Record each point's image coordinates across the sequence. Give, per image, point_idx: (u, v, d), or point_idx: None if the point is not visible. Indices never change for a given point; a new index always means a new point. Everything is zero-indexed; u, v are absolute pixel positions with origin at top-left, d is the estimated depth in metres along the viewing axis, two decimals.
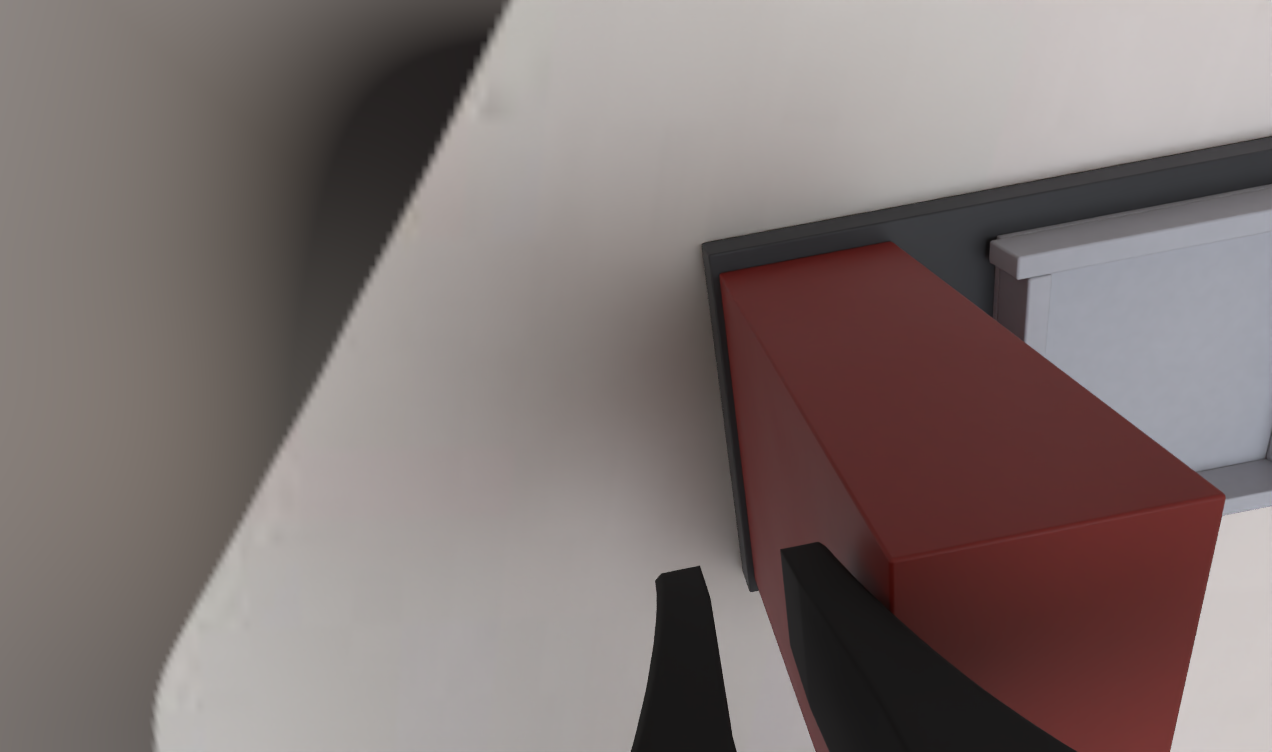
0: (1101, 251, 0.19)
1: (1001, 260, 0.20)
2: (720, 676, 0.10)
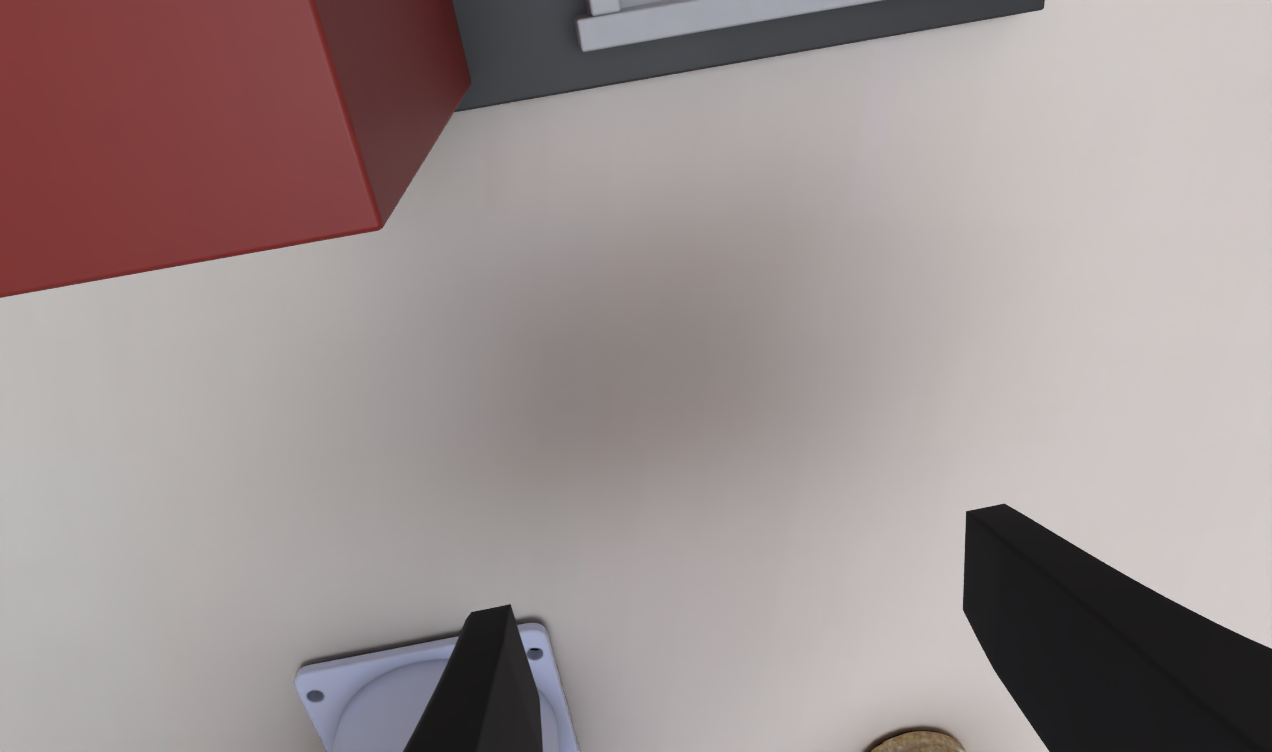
0: None
1: None
2: (480, 726, 0.09)
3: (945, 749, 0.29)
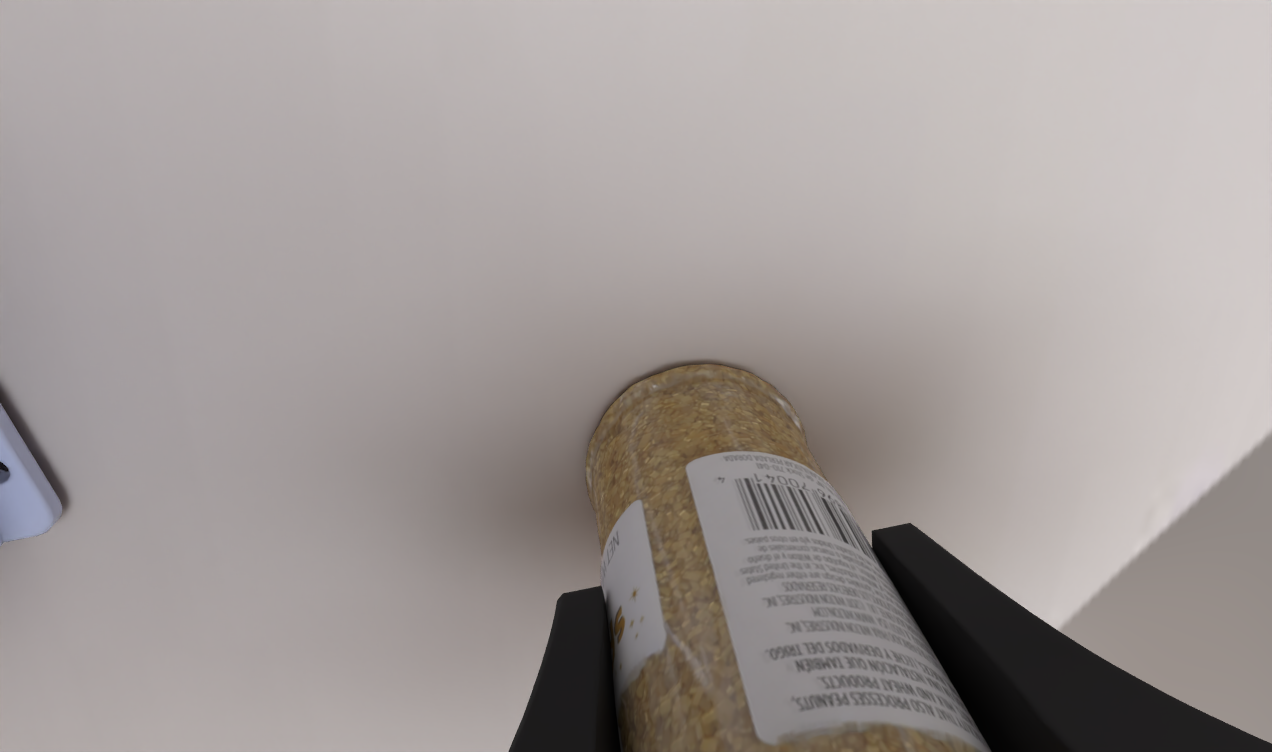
0: None
1: None
2: (596, 702, 0.09)
3: (744, 387, 0.15)
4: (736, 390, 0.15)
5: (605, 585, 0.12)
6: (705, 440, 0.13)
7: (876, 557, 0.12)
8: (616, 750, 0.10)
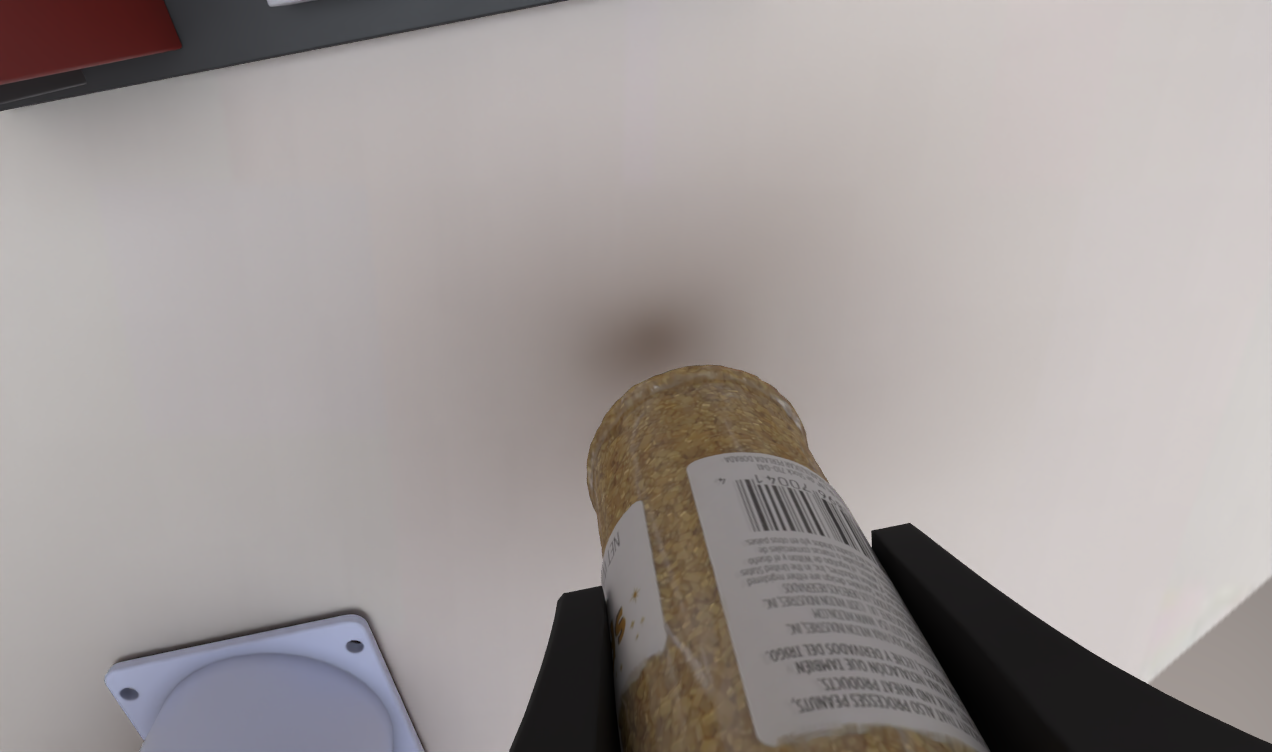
0: None
1: None
2: (597, 702, 0.09)
3: (745, 388, 0.15)
4: (737, 392, 0.15)
5: (606, 586, 0.12)
6: (706, 442, 0.13)
7: (877, 559, 0.12)
8: (617, 750, 0.10)
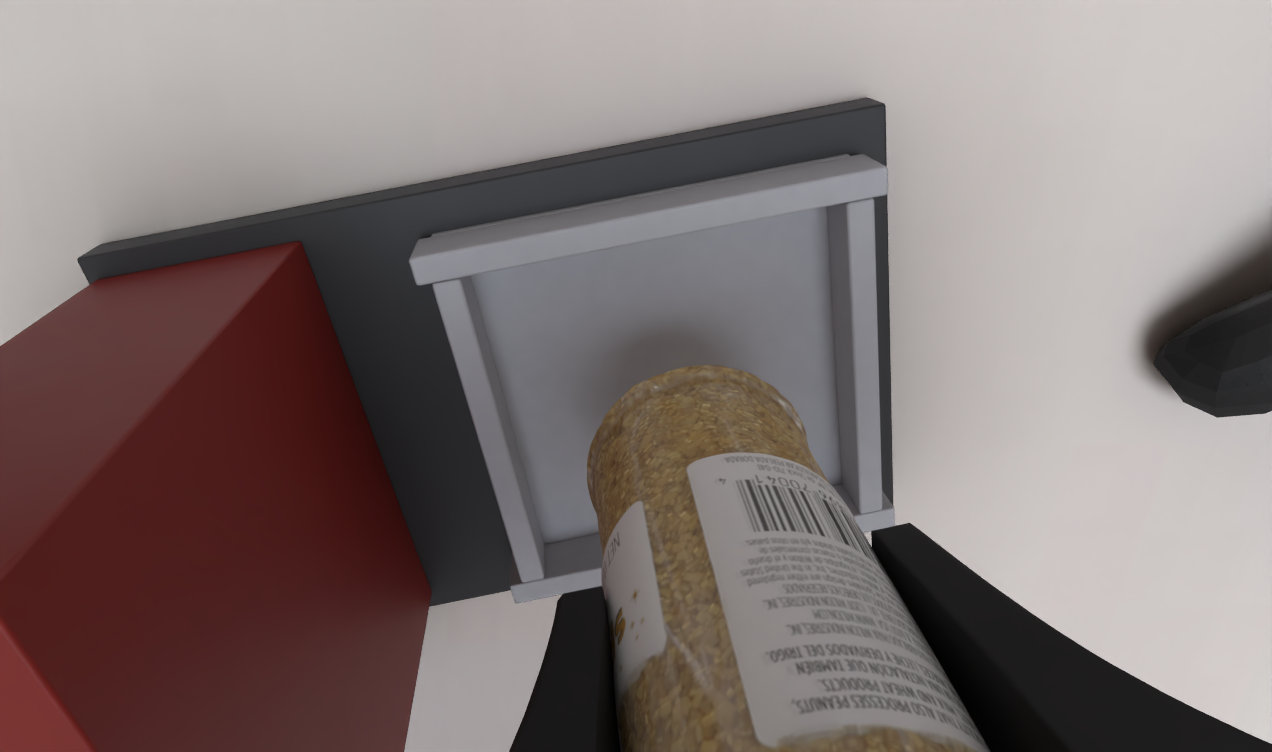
0: (511, 251, 0.16)
1: None
2: (597, 702, 0.09)
3: (745, 388, 0.15)
4: (737, 392, 0.15)
5: (606, 586, 0.12)
6: (706, 442, 0.13)
7: (877, 559, 0.12)
8: (617, 750, 0.10)
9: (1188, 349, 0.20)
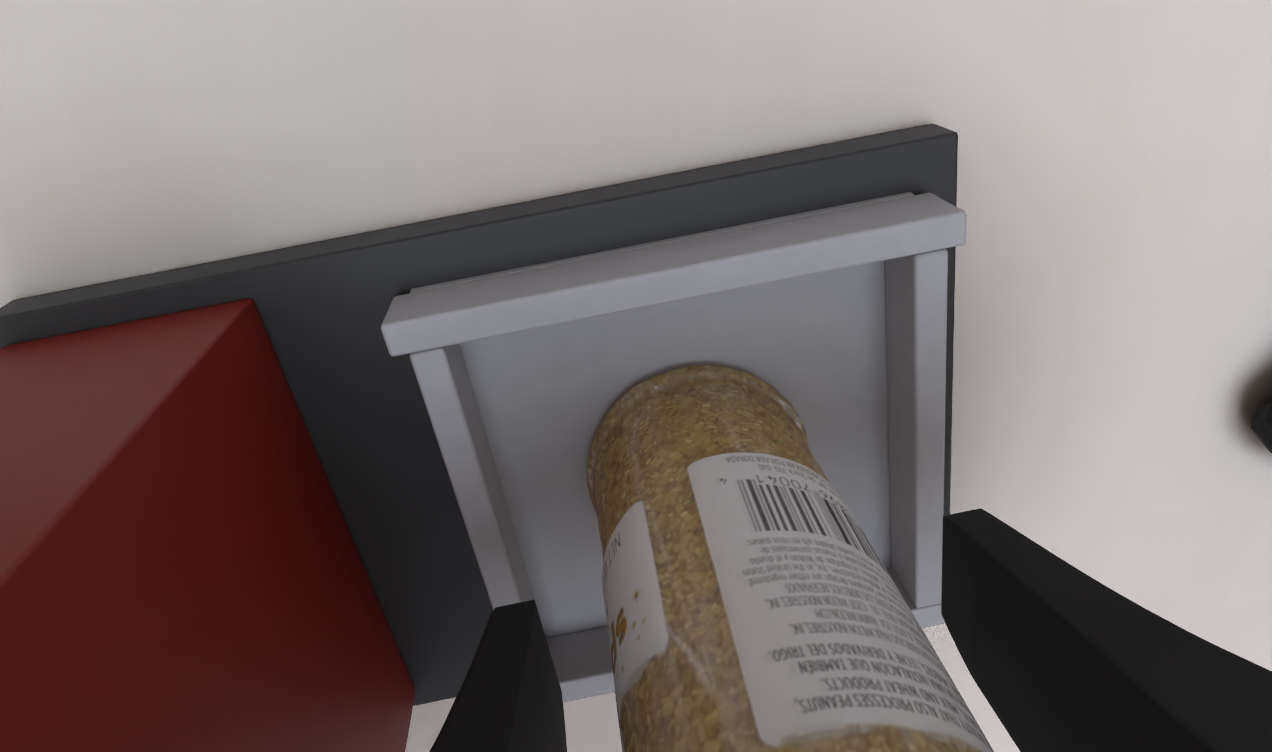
0: (506, 315, 0.13)
1: None
2: (511, 719, 0.09)
3: (745, 389, 0.15)
4: (737, 391, 0.15)
5: (606, 587, 0.12)
6: (707, 442, 0.13)
7: (878, 558, 0.12)
8: None
9: None
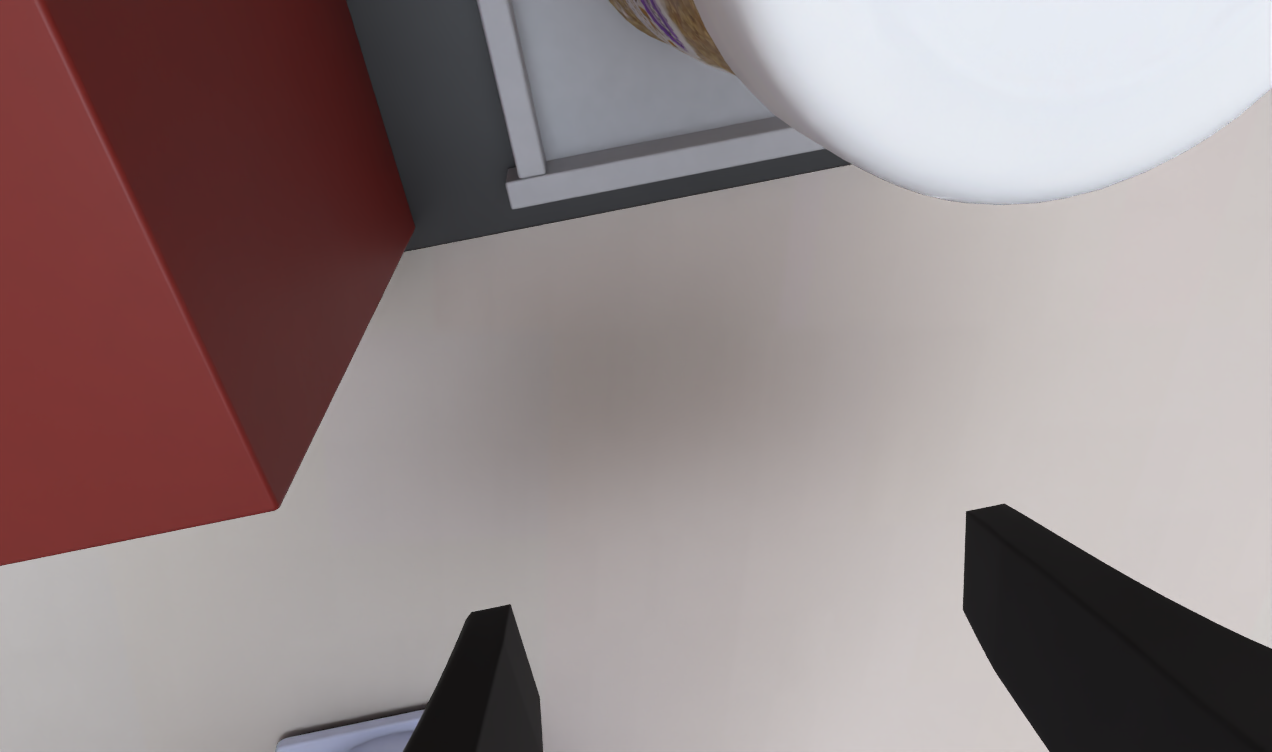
0: None
1: None
2: (481, 725, 0.09)
3: None
4: None
5: None
6: None
7: None
8: None
9: None
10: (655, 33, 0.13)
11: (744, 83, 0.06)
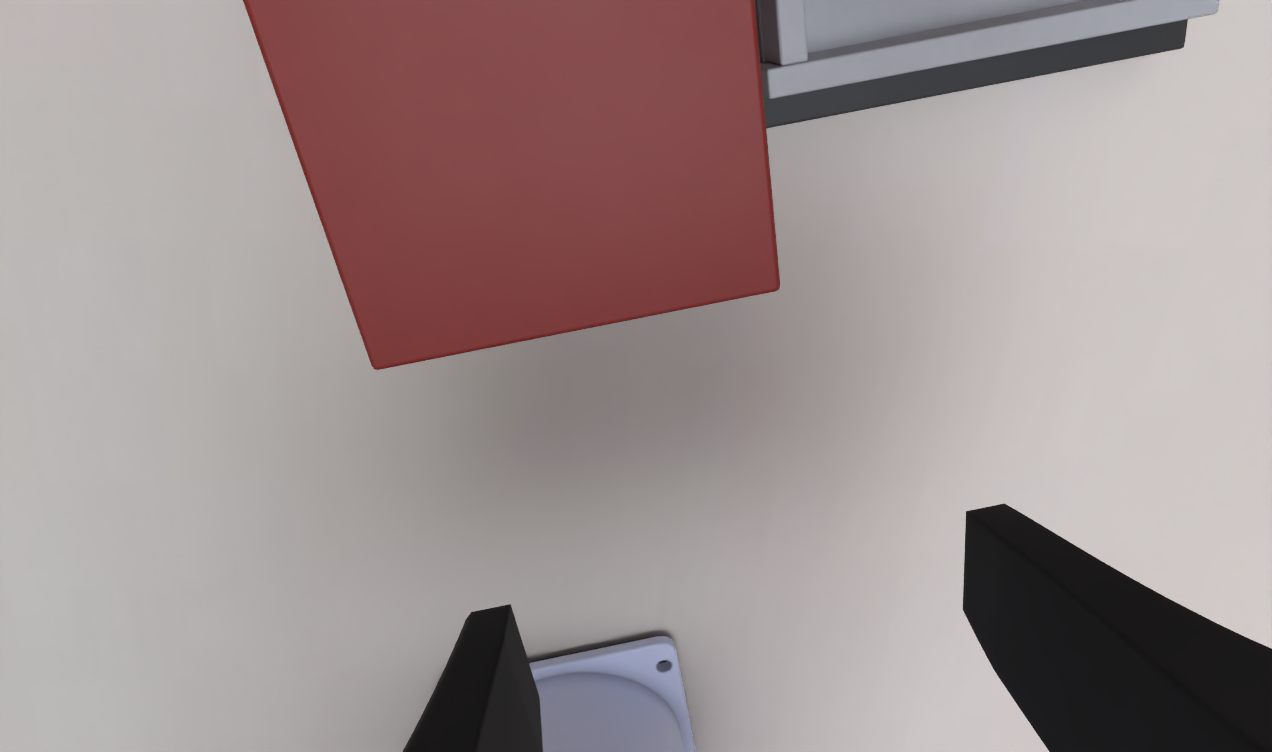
0: None
1: None
2: (480, 726, 0.09)
3: None
4: None
5: None
6: None
7: None
8: None
9: None
10: None
11: None
